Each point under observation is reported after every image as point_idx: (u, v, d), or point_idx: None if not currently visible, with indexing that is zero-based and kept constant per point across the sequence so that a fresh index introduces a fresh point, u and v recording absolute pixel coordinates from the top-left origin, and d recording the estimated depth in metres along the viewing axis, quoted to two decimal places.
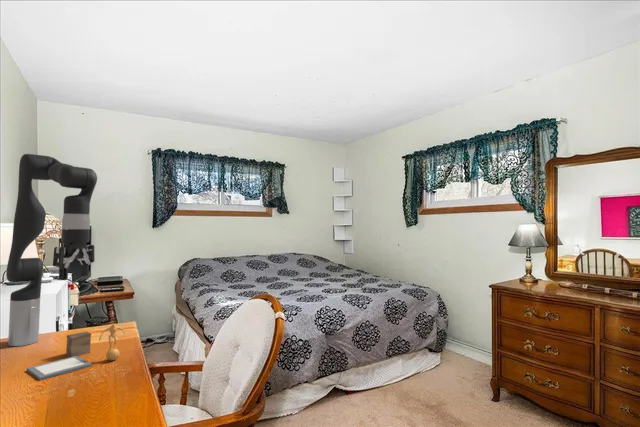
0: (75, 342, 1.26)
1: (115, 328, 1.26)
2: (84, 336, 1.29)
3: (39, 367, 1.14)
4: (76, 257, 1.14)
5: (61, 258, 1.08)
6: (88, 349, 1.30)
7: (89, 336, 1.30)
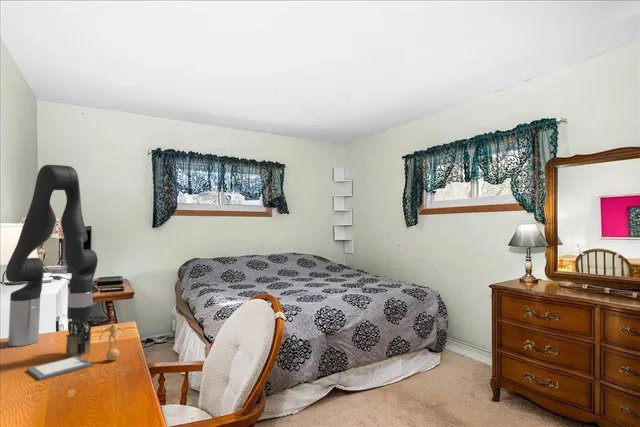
0: (75, 342, 1.26)
1: (115, 328, 1.26)
2: None
3: (39, 367, 1.14)
4: None
5: None
6: (88, 349, 1.30)
7: None
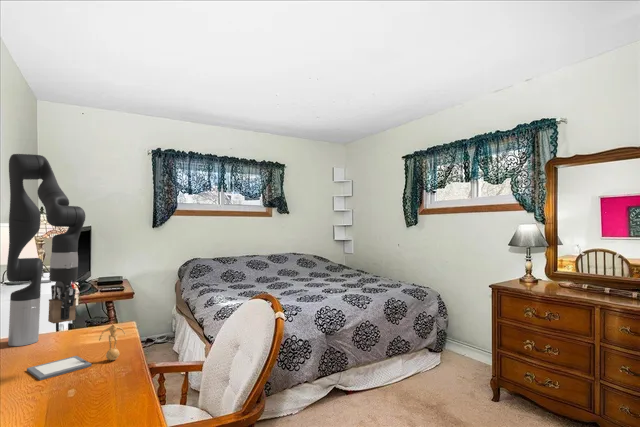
0: (58, 307, 1.14)
1: (115, 328, 1.26)
2: None
3: (39, 367, 1.14)
4: None
5: None
6: (73, 315, 1.17)
7: (74, 301, 1.18)
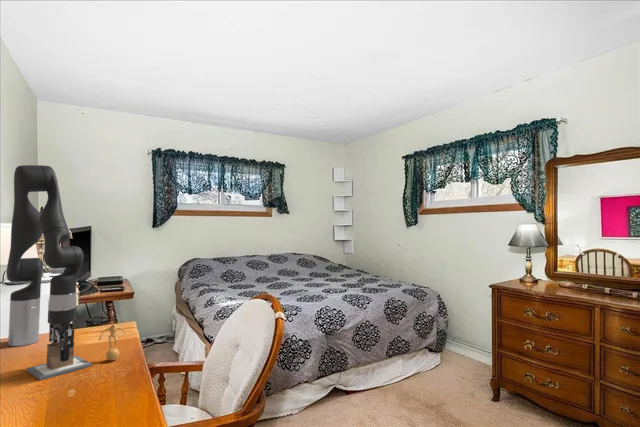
0: (56, 352, 1.13)
1: (115, 328, 1.26)
2: None
3: (39, 367, 1.14)
4: None
5: None
6: (71, 360, 1.17)
7: None
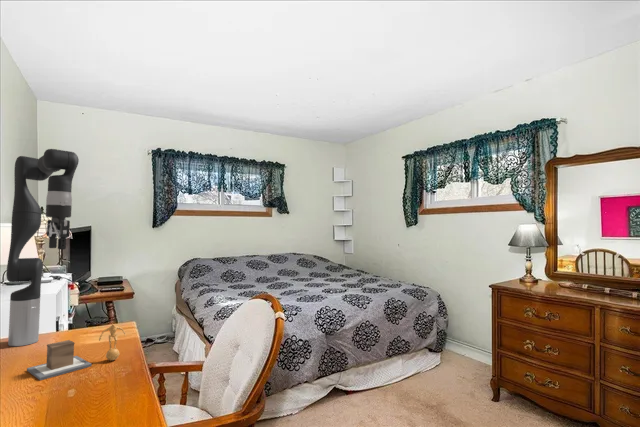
0: (56, 352, 1.13)
1: (115, 328, 1.26)
2: (66, 345, 1.16)
3: (39, 367, 1.14)
4: None
5: None
6: (71, 360, 1.17)
7: (72, 345, 1.17)
